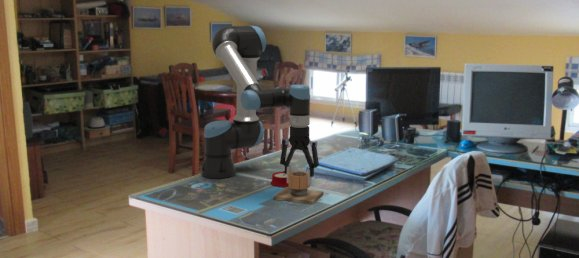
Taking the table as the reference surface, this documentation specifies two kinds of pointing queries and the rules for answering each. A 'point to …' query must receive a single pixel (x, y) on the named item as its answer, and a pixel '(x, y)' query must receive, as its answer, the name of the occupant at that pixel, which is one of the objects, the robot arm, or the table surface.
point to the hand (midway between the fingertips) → (299, 183)
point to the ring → (298, 180)
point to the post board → (300, 199)
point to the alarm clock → (279, 179)
